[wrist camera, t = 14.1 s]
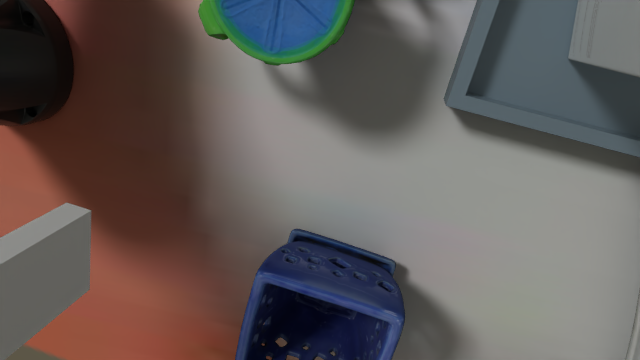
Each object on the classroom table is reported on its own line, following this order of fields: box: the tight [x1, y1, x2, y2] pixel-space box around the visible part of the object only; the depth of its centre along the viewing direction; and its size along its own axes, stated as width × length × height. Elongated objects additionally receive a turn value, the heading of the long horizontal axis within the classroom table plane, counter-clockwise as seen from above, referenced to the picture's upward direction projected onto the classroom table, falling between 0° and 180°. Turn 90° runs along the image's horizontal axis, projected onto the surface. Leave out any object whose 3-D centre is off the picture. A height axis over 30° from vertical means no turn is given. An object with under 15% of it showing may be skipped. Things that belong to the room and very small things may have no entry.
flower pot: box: [235, 229, 405, 360], centre depth 43 cm, size 13×13×12 cm
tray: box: [444, 0, 640, 157], centre depth 33 cm, size 20×20×4 cm
